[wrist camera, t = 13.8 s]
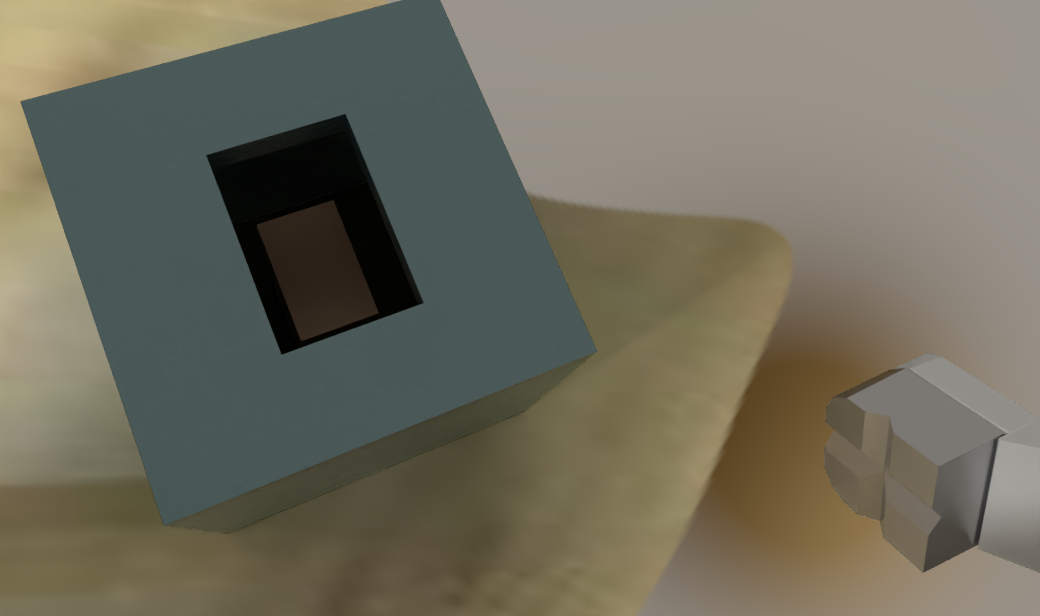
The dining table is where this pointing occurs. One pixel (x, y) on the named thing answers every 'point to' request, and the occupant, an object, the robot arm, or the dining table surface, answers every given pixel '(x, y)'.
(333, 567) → the dining table surface
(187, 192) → the blue-gray slotted box
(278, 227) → the walnut block
